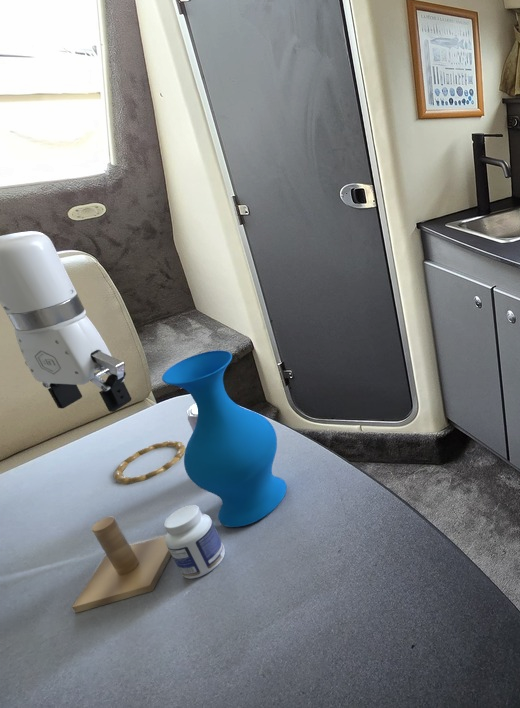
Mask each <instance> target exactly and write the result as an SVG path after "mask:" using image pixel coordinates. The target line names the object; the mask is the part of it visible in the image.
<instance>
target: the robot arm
mask: <svg viewBox="0 0 520 708" xmlns="http://www.w3.org/2000/svg"><path fill="white" fill-rule="evenodd" d="M0 306H1V307H2V308H3V311H4V312H5V314H6V315H7V318H8V319H9V322H10V323H11V325H12V326H13V328H14V333H15V337H16V340H17V344H18V348H19V349H20V352H21V354H22V356H23V359H24V361H25V362H24V363H25V365H26V367H28V369H29V372H30V373H31V376H33V378H34V380H35V381H37V382H39V383H41V385H42V387H44V388H46V389H47V391H48V392H49V395H50V396H51V398H52V399H53V401H54V403H55V405H56V407H57V409H65V408H67V407H69V406H70V405H72V404H74V403H75V402H77V401H79V400H81V399H82V398H83V395H82V392H81V391H80V389H79V387H78V386H81V385H86V384H88V383H89V382H91V383H92V384H93V385H95V386H97V388H99V389H100V391H98V392H99V395H100V397H101V400H102V401H103V403H104V404H105V407H106V408H107V410H108V412H110V413H113V412H116V411H118V410H119V409H121V408H123V407H124V406H126V405H127V404H128V403H130V402H131V401H132V397H131V394H130V392H129V391H128V388H127V386H126V384H125V381H126V378H125V377H126V375H127V373H126V364H125V362H124V361H123V360H120V359H118V358H115V357H113V356H112V354H111V352H110V350H109V348H108V346H107V344H106V343H105V340H104V339H103V338H102V335H101V334H100V333H99V331H98V329H97V328H96V326H95V325H94V323H93V322H92V321H91V320H90V319H89V317H88V316H87V315H86V314H87V312H86V309H85V307H84V305H83V303H82V301H81V299H80V297H79V295H78V293H77V291H76V288H75V286H74V284H73V282H72V280H71V278H70V276H69V274H68V272H67V270H66V268H65V266H64V264H63V262H62V259H61V258H60V256H59V253H58V252H57V249H56V248H55V245H54V243H53V241H52V240H51V238H50V237H49V236H48V235H46V234H45V233H43V232H39V231H21V232H14V233H8V234H3V235H0ZM96 371H97V372H96ZM105 375H107V378H106V380H104V379H103V378H102V376H105Z"/></svg>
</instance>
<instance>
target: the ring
mask: <svg viewBox="0 0 520 708" xmlns="http://www.w3.org/2000/svg"><path fill="white" fill-rule="evenodd" d="M167 447H168V448H175V450H176V451H177V452H176V453H175V455H174V456H173V458H171V459H170V460H169V461H167V462H166V463H165V464H164V465H162V466H161V467H159V468H156V469H154V470H152V471H150V472H148V473H146V474H142V475H138V476H134V477H128V476H125V475H124V473H123V472H124V470H125V469H126V468H127V466H128V465H129V464H131V463H132V462H133V461H135V460H136V459H137V458H139V457H140V456H143V455H146V454H147V453H150V452H151V451H154V450H157V449H162V448H167ZM185 450H186V446H185V444H184V443H183V442H182V441H175V440H167V441H162V442H158V443H153V444H151V445H149V446H146V447H145V448H142V449H140V450H137V451H136V452H134V453H132V455H129V456H128V457H127V458H126V459H124V460H123V461H121V462H120V464H119V465H118V466H117V467H116V469H115V470H114V472H113V479H114V482H115V483H117V484H122V485H132V484H135V483H140V482H144V481H148V480H150V479H151V478H154V477H156V476H158V475H160V474H162V473H164V472H166V471H167V470H168V469H170V468H171V467H173V466H175V464H177V463H178V462H179V461H181V459H182V457H184V455H185Z"/></svg>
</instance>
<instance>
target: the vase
mask: <svg viewBox="0 0 520 708" xmlns="http://www.w3.org/2000/svg"><path fill="white" fill-rule="evenodd" d="M232 359H233V354H232V353H231V352H230V351H227V350H220V349H219V350H209V351H205V352H201V353H197V354H195V355H192V356H189V357H186V358H184V359H182V360H180V361H178V362H176V363H174V364H173V365H172V366H170V367H169V368H168V369H166V370H165V372H164V373H163V374H162V377H161V380H162V382H163V383H164V384H167V385H172V386H176V387H178V388H181V389H184V390H185V391H186V392H187V393H189V394H190V396H191V397H192V399H193V401H194V404H195V403H196V406H197V409H198V417H197V423H196V426H195V429H194V431H193V430H192V434H191V436H190V438H189V439H188V442H187V444H186V446H185V448H186V450H185V452H184V454H183V464H184V470H185V472H186V475H187V477H188V478H189V479H190V480H191V482H193V484H194V485H196V486H197V487H198V488H200V489H202V490H204V491H206V492H208V493H211V494H213V495H215V496H217V497H218V498H219V499H220V500H221V502H222V503H221V506H220V507H219V510H218V521H219V523H220V524H221V525H223V526H224V527H228V528H239V527H244V526H247V525H250V524H253V523H255V522H257V521H260V520H261V519H263V518H265V517H266V516H267V515H269V514H270V513H271V512H272V511H274V510H275V509H276V508H277V507H278V506H279V504H280V503H282V501H283V500H284V498H285V496H286V493H287V489H288V485H287V483H286V481H285V480H283V479H282V478H280V477H278V476H274V474H273V473H272V470H273V464H274V460H275V457H276V454H277V448H278V439H277V438H278V437H277V433H276V430H275V428H274V426H273V424H272V423H271V422H270V421H269V420H268V419H267V418H266V417H264V416H263V415H261V414H260V413H258V412H255V411H253V410H250V409H247V408H245V407H242V406H240V405H238V404H237V403H236V402H234V400H232V399H231V398H230V397H229V395H228V394H227V391H226V389H225V385H224V374H225V371H226V369H227V367H228V366H229V365H230V363H231V361H232Z"/></svg>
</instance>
